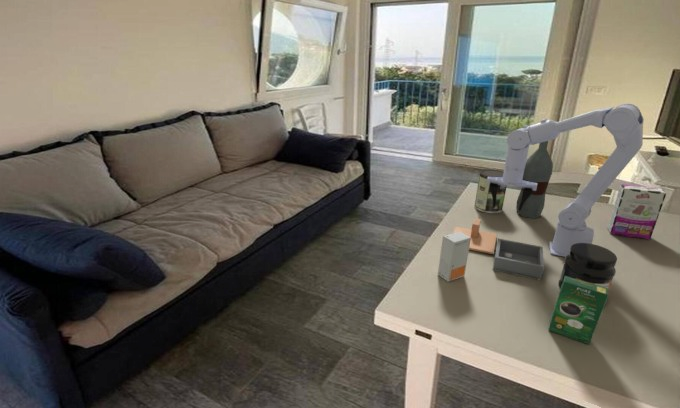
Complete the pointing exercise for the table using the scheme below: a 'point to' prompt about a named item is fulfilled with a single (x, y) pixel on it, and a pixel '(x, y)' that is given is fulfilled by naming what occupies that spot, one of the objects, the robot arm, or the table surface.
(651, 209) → the candy bar box
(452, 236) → the skincare box
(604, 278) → the supplement container
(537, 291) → the table surface
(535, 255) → the tub
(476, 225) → the lid
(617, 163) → the robot arm
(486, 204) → the coffee can
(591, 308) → the coffee box
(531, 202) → the bottle
